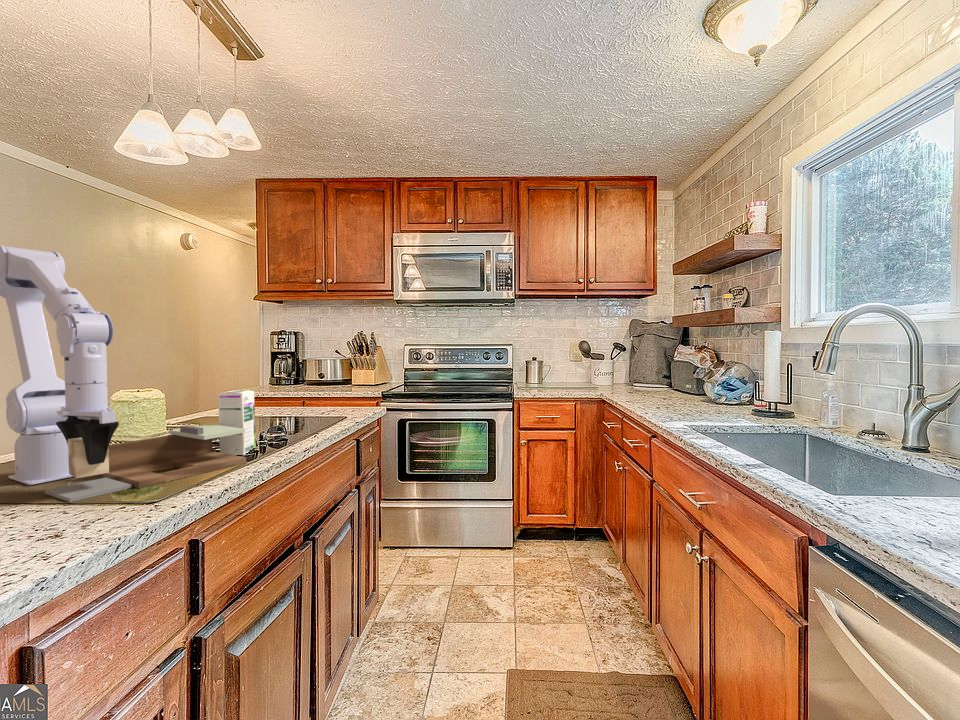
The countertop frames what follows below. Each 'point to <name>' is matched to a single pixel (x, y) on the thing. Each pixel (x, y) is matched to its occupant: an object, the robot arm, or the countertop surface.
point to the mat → (87, 489)
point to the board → (165, 460)
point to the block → (83, 460)
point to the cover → (206, 431)
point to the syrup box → (237, 421)
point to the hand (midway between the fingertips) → (88, 461)
